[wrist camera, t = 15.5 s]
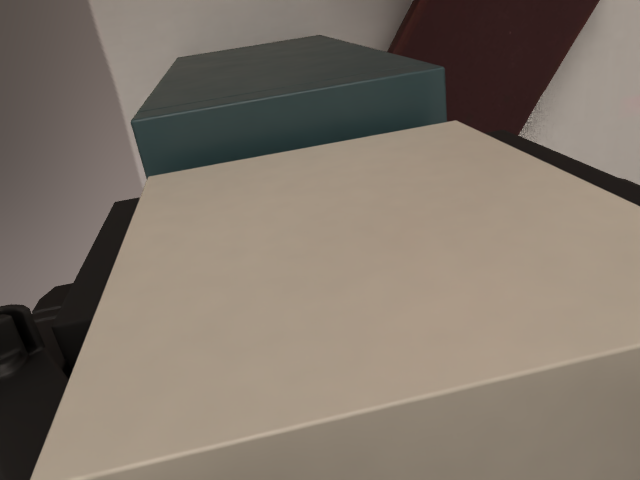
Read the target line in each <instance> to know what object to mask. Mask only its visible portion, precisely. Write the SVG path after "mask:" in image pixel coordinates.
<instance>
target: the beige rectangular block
mask: <svg viewBox="0 0 640 480" xmlns="http://www.w3.org/2000/svg"><path fill="white" fill-rule="evenodd" d="M30 480H640V206H638V205H636V204H634V203H631V202H629V201H627V200H625V199H623V198H621V197H619V196H617V195H614V194H612V193H610V192H608V191H606V190H604V189H602V188H599V187H597V186H595V185H593V184H591V183H589V182H587V181H584V180H582V179H580V178H578V177H576V176H574V175H572V174H570V173H567V172H565V171H563V170H561V169H559V168H557V167H555V166H552V165H550V164H548V163H546V162H544V161H542V160H540V159H537V158H535V157H533V156H531V155H529V154H527V153H525V152H523V151H520V150H518V149H516V148H514V147H512V146H510V145H508V144H505V143H503V142H501V141H499V140H497V139H495V138H493V137H490V136H488V135H486V134H484V133H482V132H480V131H478V130H475V129H473V128H471V127H469V126H467V125H465V124H463V123H461V122H458V121H456V120H455V121H450V122H444V123H439V124H433V125H428V126H422V127H417V128H411V129H406V130H400V131H395V132H390V133H384V134H379V135H373V136H368V137H362V138H357V139H351V140H346V141H340V142H335V143H329V144H324V145H319V146H313V147H308V148H302V149H297V150H291V151H286V152H280V153H275V154H269V155H264V156H258V157H253V158H248V159H242V160H237V161H231V162H226V163H220V164H215V165H209V166H204V167H198V168H193V169H187V170H182V171H177V172H171V173H166V174H160V175H155V176H149V177H148V179H147V181H146V184H145V186H144V189H143V192H142V194H141V197H140V199H139V202H138V204H137V207H136V210H135V212H134V215H133V217H132V220H131V222H130V225H129V227H128V230H127V233H126V235H125V238H124V240H123V243H122V245H121V248H120V251H119V253H118V256H117V258H116V261H115V263H114V266H113V268H112V271H111V274H110V276H109V279H108V281H107V284H106V286H105V289H104V292H103V294H102V297H101V299H100V302H99V304H98V307H97V309H96V312H95V315H94V317H93V320H92V322H91V325H90V327H89V330H88V333H87V335H86V338H85V340H84V343H83V345H82V348H81V350H80V353H79V356H78V358H77V361H76V363H75V366H74V368H73V371H72V373H71V376H70V379H69V381H68V384H67V386H66V389H65V391H64V394H63V397H62V399H61V402H60V404H59V407H58V409H57V412H56V414H55V417H54V420H53V422H52V425H51V427H50V430H49V432H48V435H47V438H46V440H45V443H44V445H43V448H42V450H41V453H40V455H39V458H38V461H37V463H36V466H35V468H34V471H33V473H32V476H31V479H30Z"/></svg>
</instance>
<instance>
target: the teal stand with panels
mask: <svg viewBox="0 0 640 480" xmlns="http://www.w3.org/2000/svg"><path fill="white" fill-rule="evenodd" d="M444 122H447V111H446V87H445V68H444V67H442V66H438V65H434V64H430V63H427V62H423V61H419V60H415V59H412V58H408V57H404V56H400V55H396V54H392V53H388V52H384V51H380V50H376V49H372V48H369V47H365V46H361V45H357V44H353V43H349V42H345V41H341V40H337V39H333V38H330V37H326V36H322V35H316V36H310V37H304V38H298V39H292V40H285V41H279V42H273V43H267V44H261V45H254V46H248V47H242V48H236V49H229V50H223V51H217V52H211V53H205V54H198V55H192V56H186V57H180V58H177V59H176V61H175V62H174V63H173V65H172V66H171V67H170V69H169V70H168V71H167V73H166V74H165V75H164V77H163V78H162V79H161V81H160V82H159V84H158V85H157V86H156V88H155V89H154V90H153V92H152V93H151V94H150V96H149V97H148V98H147V100H146V101H145V102H144V104H143V105H142V106H141V108H140V109H139V111H138V112H137V114H136V115H135V116H134V118H133V119H132V120H131V125H132V128H133V132H134V136H135V139H136V143H137V146H138V150H139V153H140V157H141V160H142V164H143V167H144V171H145V174H146V178H147V179H148V177H149V176H155V175H160V174H166V173H171V172H177V171H182V170H187V169H193V168H198V167H204V166H209V165H215V164H220V163H226V162H231V161H237V160H242V159H248V158H253V157H258V156H264V155H269V154H275V153H280V152H286V151H291V150H297V149H302V148H308V147H313V146H319V145H324V144H329V143H335V142H340V141H346V140H351V139H357V138H362V137H368V136H373V135H379V134H384V133H390V132H395V131H400V130H406V129H411V128H417V127H422V126H428V125H433V124H439V123H444Z"/></svg>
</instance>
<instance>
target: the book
mask: <svg viewBox="0 0 640 480" xmlns="http://www.w3.org/2000/svg"><path fill="white" fill-rule="evenodd" d="M598 2H599V0H414V1H413V3H412V5H411V7H410V9H409V11H408V13H407V14H406V16H405V18H404V20H403V22H402V24H401V26H400V28H399V30H398V32H397V34H396V36H395V38H394V40H393V42H392V44H391V45H390V47H389V49H388V51H387V52H388V53H392V54H396V55H400V56H404V57H408V58H412V59H415V60H419V61H423V62H427V63H430V64H434V65H438V66H442V67H444V68H445V87H446V111H447V122H450V121H455V120H456V121H458V122H461V123H463V124H465V125H467V126H469V127H471V128H473V129H475V130H478V131H480V132H482V133H488V132H493V131H498V130H506V131H508V132H510V133H513V134H515V135H519V133H520V131H521V130H522V128H523V126H524V125H525V123H526V121H527V119H528V118H529V116H530V114H531V112H532V111H533V109H534V107H535V106H536V104H537V102H538V100H539V98H540V97H541V95H542V94H543V92H544V91H545V89H546V88H547V86H548V84H549V83H550V81H551V79H552V78H553V76H554V74H555V73H556V71H557V69H558V68H559V66H560V64H561V63H562V61H563V59H564V58H565V56H566V54H567V53H568V51H569V49H570V47H571V46H572V44H573V43H574V41H575V39H576V38H577V36H578V34H579V33H580V31H581V30H582V28H583V27H584V25H585V23H586V22H587V20H588V18H589V17H590V15H591V13H592V12H593V10H594V9H595V7H596V5H597V4H598Z"/></svg>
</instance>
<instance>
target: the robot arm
mask: <svg viewBox="0 0 640 480" xmlns="http://www.w3.org/2000/svg"><path fill="white" fill-rule="evenodd" d="M484 134H486V135H488V136H490V137H493V138H495V139H497V140H499V141H501V142H503V143H505V144H508V145H510V146H512V147H514V148H516V149H518V150H520V151H523V152H525V153H527V154H529V155H531V156H533V157H535V158H537V159H540V160H542V161H544V162H546V163H548V164H550V165H552V166H555V167H557V168H559V169H561V170H563V171H565V172H567V173H570V174H572V175H574V176H576V177H578V178H580V179H582V180H584V181H587V182H589V183H591V184H593V185H595V186H597V187H599V188H602V189H604V190H606V191H608V192H610V193H612V194H614V195H617V196H619V197H621V198H623V199H625V200H627V201H629V202H631V203H634V204H636V205H638V206H640V185H638V184H635V183H633V182H631V181H628V180H626V179H621V178H617V177H615V176H612V175H610V174H608V173H605V172H603V171H601V170H598V169H596V168H593V167H591V166H589V165H586V164H584V163H582V162H579V161H577V160H574V159H572V158H570V157H567V156H565V155H563V154H560V153H558V152H555V151H553V150H551V149H548V148H546V147H544V146H541V145H539V144H536V143H534V142H532V141H529V140H527V139H525V138H522V137H520V136H518V135H515V134H513V133H510V132H508V131H506V130H498V131H493V132H488V133H484ZM139 199H140V198H134V199H129V200H124V201H119V202H115V203H114V205H113V207H112V209H111V211H110V213H109V215H108V217H107V218H106V220H105V222H104V224H103V226H102V228H101V230H100V232H99V234H98V236H97V238H96V240H95V242H94V244H93V246H92V248H91V250H90V252H89V254H88V256H87V257H86V259H85V262H84V263H83V265H82V267H81V269H80V271H79V273H78V275H77V277H76V279H75V281H74V283H72V284H66V285H61V286H56V287H54V288H53V289H52V290H51V291H49V292H48V293H47V294H46V295H44V296H43V297H42V298H41V299H40V300H39V301H38V303H37V305H36V306H35V308H34V310H33V311H32V313H33V314H31V311H30V309H29V308H28V307H26V306H24V305H6V306H1V307H0V480H30V479H31V476H32V473H33V471H34V468H35V466H36V463H37V461H38V458H39V455H40V453H41V450H42V448H43V445H44V443H45V440H46V438H47V435H48V432H49V430H50V427H51V425H52V422H53V420H54V417H55V414H56V412H57V409H58V407H59V404H60V402H61V399H62V397H63V394H64V391H65V389H66V386H67V384H68V381H69V379H70V376H71V373H72V371H73V368H74V366H75V363H76V361H77V358H78V356H79V353H80V350H81V348H82V345H83V343H84V340H85V338H86V335H87V333H88V330H89V327H90V325H91V322H92V320H93V317H94V315H95V312H96V309H97V307H98V304H99V302H100V299H101V297H102V294H103V292H104V289H105V286H106V284H107V281H108V279H109V276H110V274H111V271H112V268H113V266H114V263H115V261H116V258H117V256H118V253H119V251H120V248H121V245H122V243H123V240H124V238H125V235H126V233H127V230H128V227H129V225H130V222H131V220H132V217H133V215H134V212H135V210H136V207H137V204H138V202H139Z"/></svg>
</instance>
